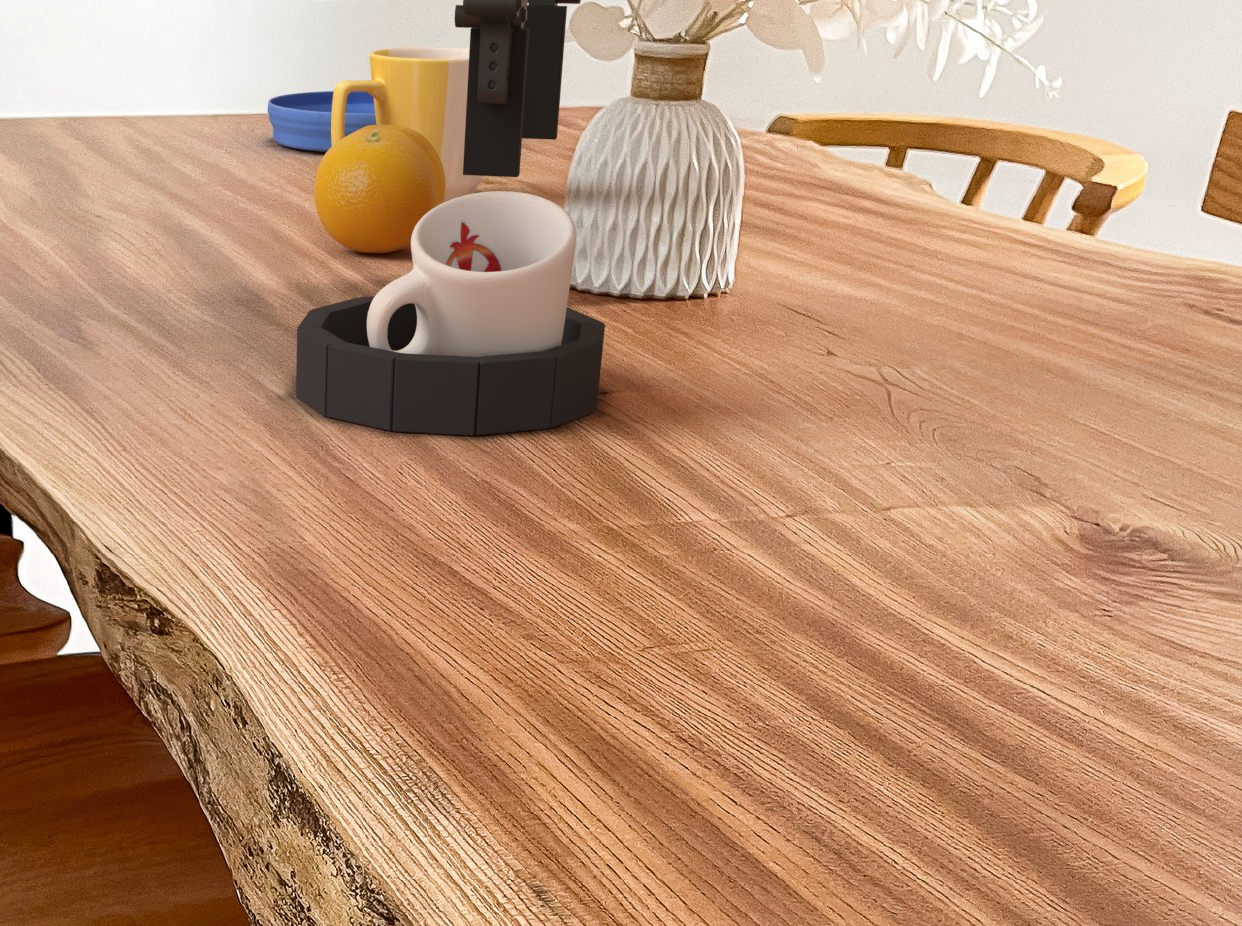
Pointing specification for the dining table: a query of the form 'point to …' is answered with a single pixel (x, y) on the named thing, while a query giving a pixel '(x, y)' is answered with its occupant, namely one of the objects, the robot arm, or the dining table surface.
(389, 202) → the fruit
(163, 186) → the dining table surface
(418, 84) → the mug
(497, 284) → the cup
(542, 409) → the ring
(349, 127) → the bowl
